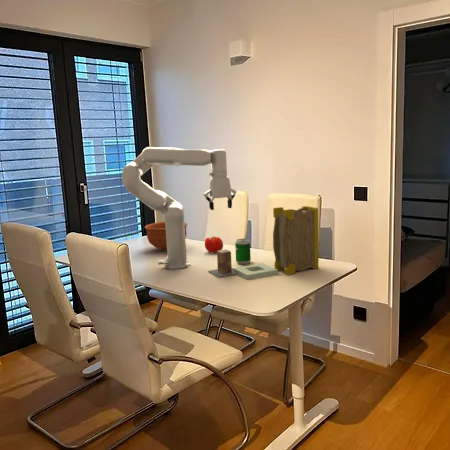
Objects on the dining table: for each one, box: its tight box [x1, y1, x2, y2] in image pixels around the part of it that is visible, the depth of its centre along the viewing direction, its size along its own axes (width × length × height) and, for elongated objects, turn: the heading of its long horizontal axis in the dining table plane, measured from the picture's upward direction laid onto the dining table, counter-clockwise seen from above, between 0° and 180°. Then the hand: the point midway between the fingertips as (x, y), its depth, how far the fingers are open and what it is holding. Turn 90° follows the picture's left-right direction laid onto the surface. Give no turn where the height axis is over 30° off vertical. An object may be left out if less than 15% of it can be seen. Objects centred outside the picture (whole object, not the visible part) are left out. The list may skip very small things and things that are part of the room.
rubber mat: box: [207, 267, 239, 279], centre depth 224 cm, size 12×12×1 cm
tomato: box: [204, 236, 224, 254], centre depth 266 cm, size 11×11×9 cm
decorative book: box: [272, 205, 319, 276], centre depth 222 cm, size 20×11×30 cm, turn 116°
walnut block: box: [216, 249, 233, 274], centre depth 223 cm, size 5×5×10 cm
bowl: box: [144, 221, 188, 251], centre depth 278 cm, size 25×25×15 cm
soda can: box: [234, 238, 252, 265], centre depth 241 cm, size 8×8×12 cm
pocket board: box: [232, 262, 278, 280], centre depth 222 cm, size 16×14×2 cm
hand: (220, 208), depth 237 cm, fingers open, 9 cm apart
